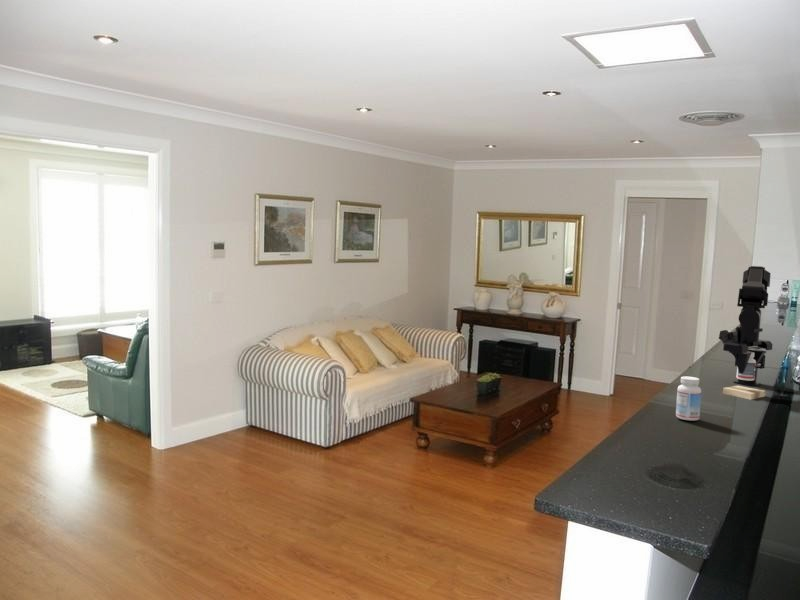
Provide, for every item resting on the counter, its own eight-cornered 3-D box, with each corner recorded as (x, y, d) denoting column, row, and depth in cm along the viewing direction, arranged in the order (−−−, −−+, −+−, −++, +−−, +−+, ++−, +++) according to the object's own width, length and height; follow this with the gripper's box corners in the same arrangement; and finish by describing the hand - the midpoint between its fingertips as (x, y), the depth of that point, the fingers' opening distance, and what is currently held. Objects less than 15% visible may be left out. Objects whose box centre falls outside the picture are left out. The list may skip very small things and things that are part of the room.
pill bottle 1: (698, 416, 177) (701, 377, 176) (700, 422, 171) (703, 381, 170) (674, 414, 179) (677, 374, 178) (676, 419, 173) (679, 378, 172)
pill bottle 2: (756, 381, 203) (759, 353, 202) (739, 380, 204) (741, 352, 203) (751, 378, 208) (753, 351, 207) (734, 376, 209) (736, 350, 208)
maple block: (737, 392, 213) (737, 385, 212) (764, 398, 205) (765, 391, 205) (722, 395, 208) (723, 387, 207) (750, 401, 200) (751, 393, 200)
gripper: (741, 320, 216) (737, 365, 218) (709, 322, 206) (705, 369, 208) (775, 324, 207) (770, 371, 208) (743, 327, 197) (739, 376, 198)
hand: (745, 372), depth 206 cm, fingers closed on pill bottle 2, 5 cm apart
